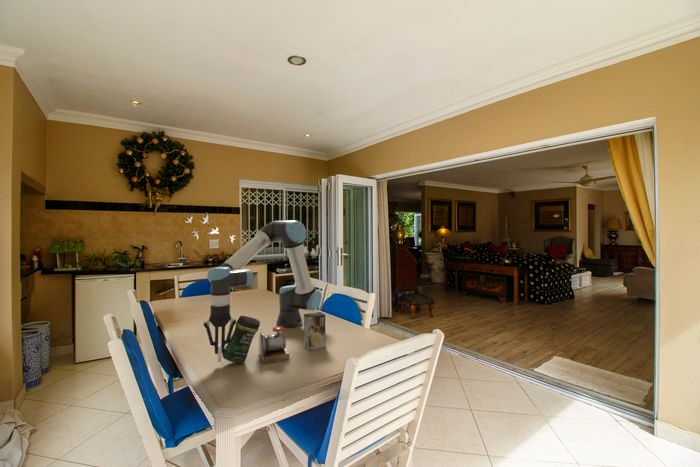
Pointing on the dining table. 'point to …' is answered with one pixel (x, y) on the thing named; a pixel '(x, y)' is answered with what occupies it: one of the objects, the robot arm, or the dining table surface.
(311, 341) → the coffee box
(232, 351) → the coffee jar
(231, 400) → the dining table surface
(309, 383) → the dining table surface
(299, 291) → the robot arm
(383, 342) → the dining table surface
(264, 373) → the dining table surface
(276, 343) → the valve stub
